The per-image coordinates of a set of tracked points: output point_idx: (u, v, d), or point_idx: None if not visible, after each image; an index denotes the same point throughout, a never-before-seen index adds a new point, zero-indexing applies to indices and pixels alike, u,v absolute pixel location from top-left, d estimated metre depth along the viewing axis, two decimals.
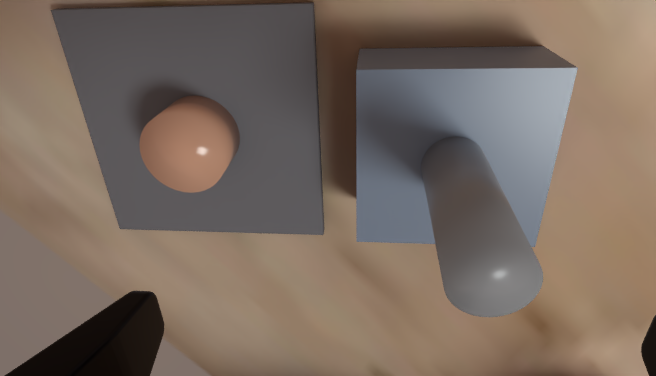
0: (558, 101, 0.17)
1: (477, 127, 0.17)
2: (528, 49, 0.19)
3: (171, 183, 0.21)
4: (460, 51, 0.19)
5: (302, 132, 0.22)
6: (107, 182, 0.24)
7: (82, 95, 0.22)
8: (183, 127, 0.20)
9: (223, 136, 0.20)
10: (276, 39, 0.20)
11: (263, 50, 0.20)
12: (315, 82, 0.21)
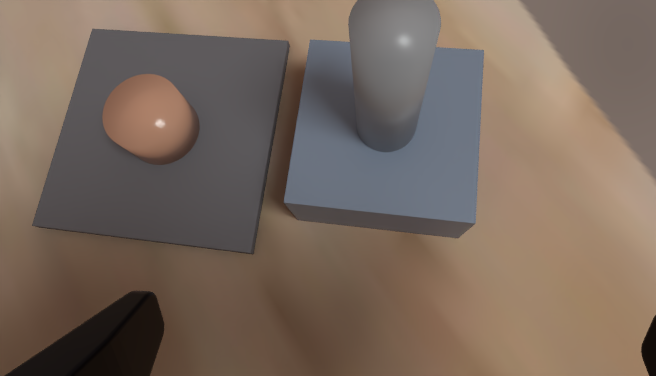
0: (473, 74, 0.20)
1: None
2: None
3: (117, 137, 0.21)
4: None
5: (256, 136, 0.24)
6: (51, 170, 0.24)
7: (77, 89, 0.25)
8: (153, 86, 0.22)
9: (185, 105, 0.22)
10: (254, 61, 0.25)
11: (242, 68, 0.25)
12: (278, 95, 0.24)
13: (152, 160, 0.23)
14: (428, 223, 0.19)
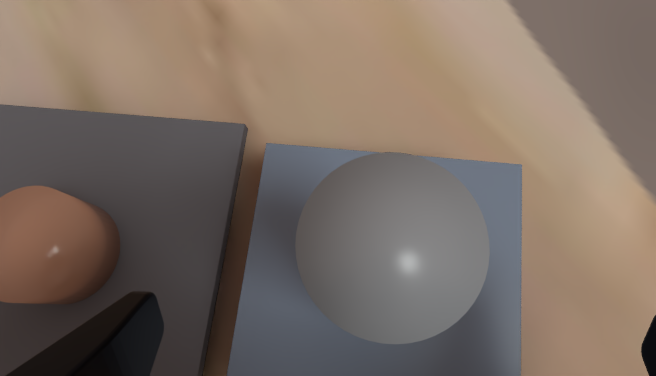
0: (508, 203, 0.13)
1: None
2: None
3: None
4: None
5: (197, 264, 0.17)
6: None
7: None
8: (44, 205, 0.15)
9: (90, 232, 0.16)
10: (198, 153, 0.18)
11: (181, 162, 0.18)
12: (229, 203, 0.17)
13: (48, 303, 0.16)
14: None
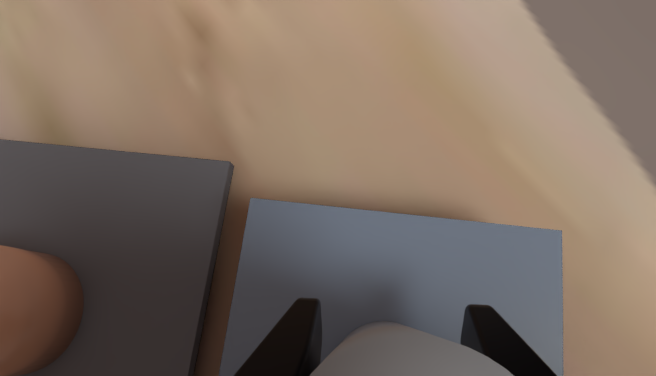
0: (546, 280, 0.11)
1: (423, 309, 0.11)
2: None
3: None
4: None
5: (173, 329, 0.14)
6: None
7: None
8: None
9: (42, 298, 0.13)
10: (176, 195, 0.16)
11: (156, 206, 0.16)
12: (210, 256, 0.15)
13: None
14: None
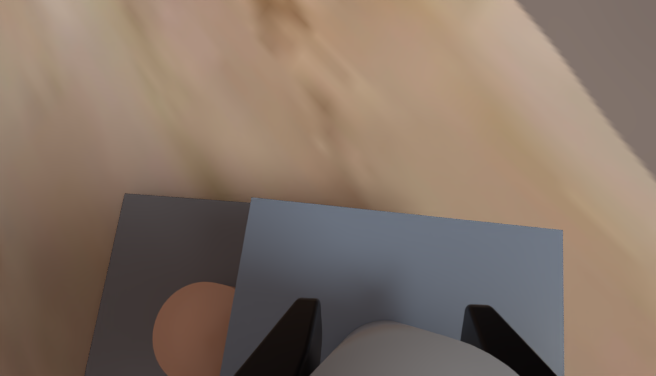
0: (546, 279, 0.11)
1: (424, 308, 0.11)
2: None
3: (172, 370, 0.17)
4: None
5: None
6: None
7: (111, 273, 0.21)
8: (215, 300, 0.18)
9: None
10: None
11: None
12: None
13: None
14: None
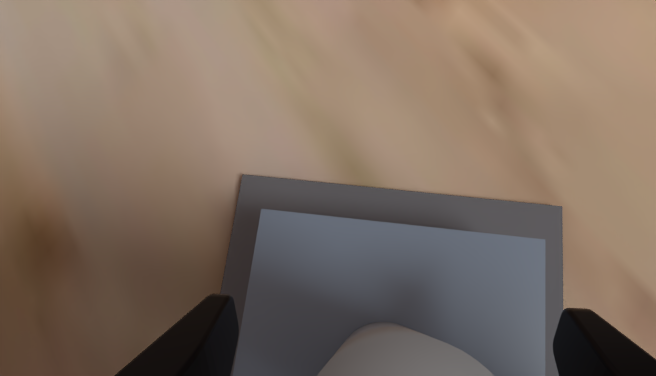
0: (530, 285, 0.12)
1: (419, 310, 0.12)
2: None
3: None
4: None
5: None
6: None
7: (229, 277, 0.16)
8: None
9: None
10: None
11: None
12: (561, 302, 0.15)
13: None
14: None
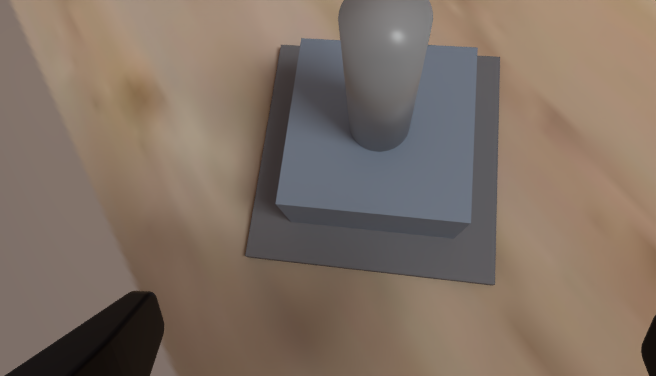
0: (467, 72, 0.19)
1: None
2: None
3: None
4: None
5: (481, 159, 0.22)
6: (257, 196, 0.23)
7: (274, 109, 0.24)
8: None
9: None
10: None
11: None
12: (497, 115, 0.23)
13: None
14: (423, 223, 0.19)
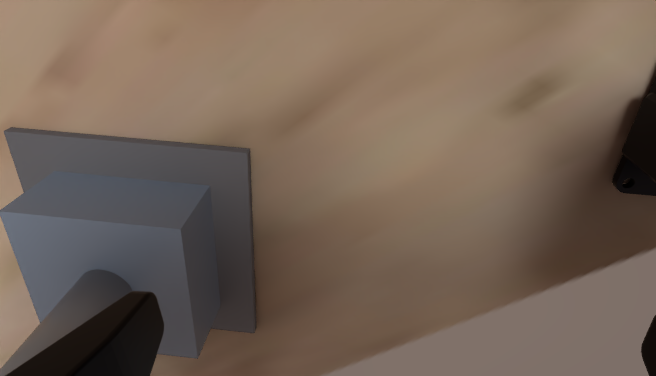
0: (29, 221, 0.19)
1: (68, 274, 0.20)
2: None
3: None
4: None
5: (124, 156, 0.21)
6: None
7: None
8: None
9: None
10: (41, 165, 0.22)
11: None
12: (71, 137, 0.21)
13: None
14: (193, 247, 0.20)
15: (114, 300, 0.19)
